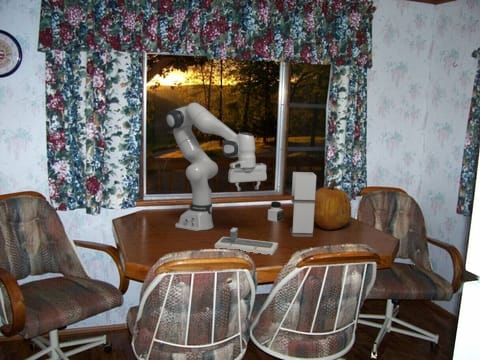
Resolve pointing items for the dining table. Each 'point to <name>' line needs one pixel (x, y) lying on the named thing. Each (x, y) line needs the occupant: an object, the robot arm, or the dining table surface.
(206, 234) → the dining table surface
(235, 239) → the fader tab
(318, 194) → the pumpkin
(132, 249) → the dining table surface
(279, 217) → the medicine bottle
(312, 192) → the light grey rectangular tower
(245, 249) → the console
